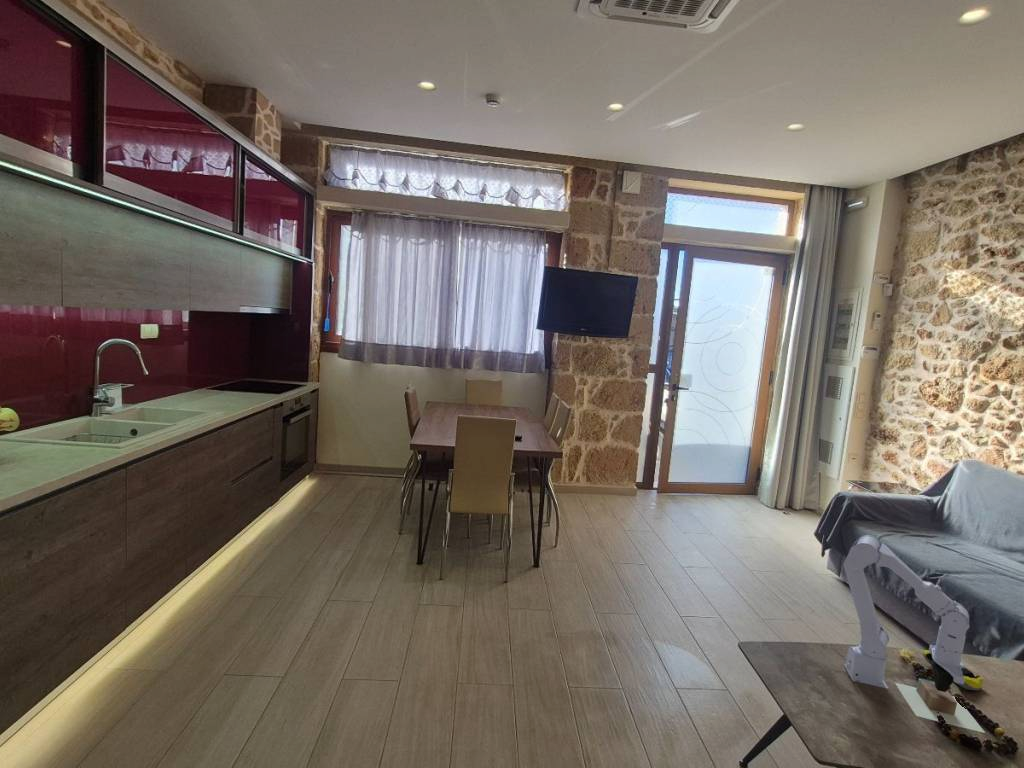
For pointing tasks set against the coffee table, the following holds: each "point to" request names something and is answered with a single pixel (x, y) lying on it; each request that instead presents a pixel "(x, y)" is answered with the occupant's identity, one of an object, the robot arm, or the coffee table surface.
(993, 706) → the coffee table surface
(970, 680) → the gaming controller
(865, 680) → the robot arm
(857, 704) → the coffee table surface
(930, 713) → the sage mat
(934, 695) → the walnut block
